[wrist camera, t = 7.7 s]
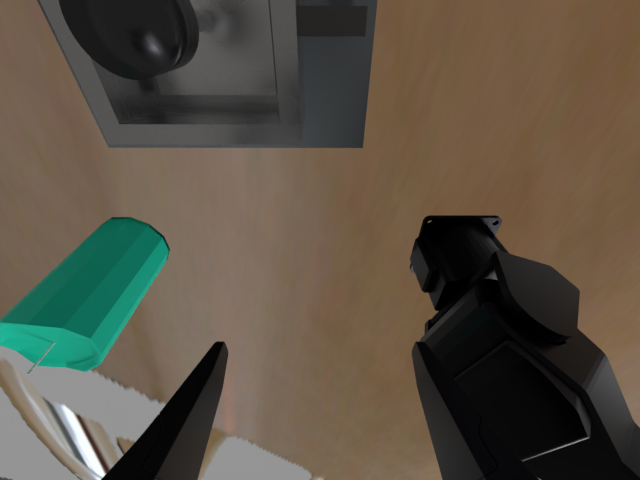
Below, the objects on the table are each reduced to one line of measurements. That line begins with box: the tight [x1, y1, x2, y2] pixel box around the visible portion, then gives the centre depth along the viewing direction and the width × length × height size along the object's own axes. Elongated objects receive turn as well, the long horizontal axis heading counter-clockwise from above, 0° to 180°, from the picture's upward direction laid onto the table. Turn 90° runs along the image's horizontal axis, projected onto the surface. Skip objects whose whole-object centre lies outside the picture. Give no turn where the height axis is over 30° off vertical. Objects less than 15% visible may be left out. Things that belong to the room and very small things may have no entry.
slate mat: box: [37, 0, 378, 148], centre depth 15 cm, size 18×14×1 cm
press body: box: [40, 0, 368, 145], centre depth 13 cm, size 13×10×5 cm
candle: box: [0, 217, 170, 375], centre depth 21 cm, size 6×6×12 cm
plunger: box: [59, 0, 278, 95], centre depth 11 cm, size 7×7×8 cm
